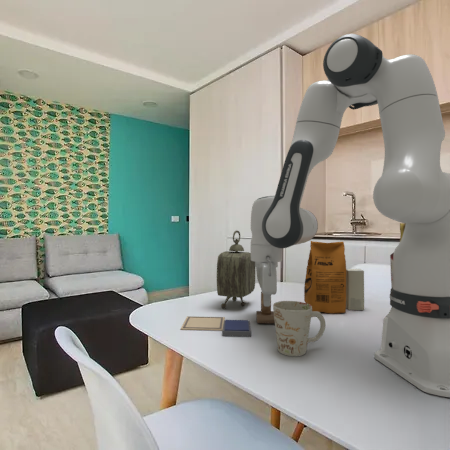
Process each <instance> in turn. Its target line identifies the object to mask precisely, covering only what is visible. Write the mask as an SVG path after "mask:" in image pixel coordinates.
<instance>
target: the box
mask: <svg viewBox="0 0 450 450" xmlns="http://www.w3.org/2000/svg"><path fill="white" fill-rule="evenodd" d="M346 310H349V311H364V310H365V271H364V269H361V268H346Z"/></svg>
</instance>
